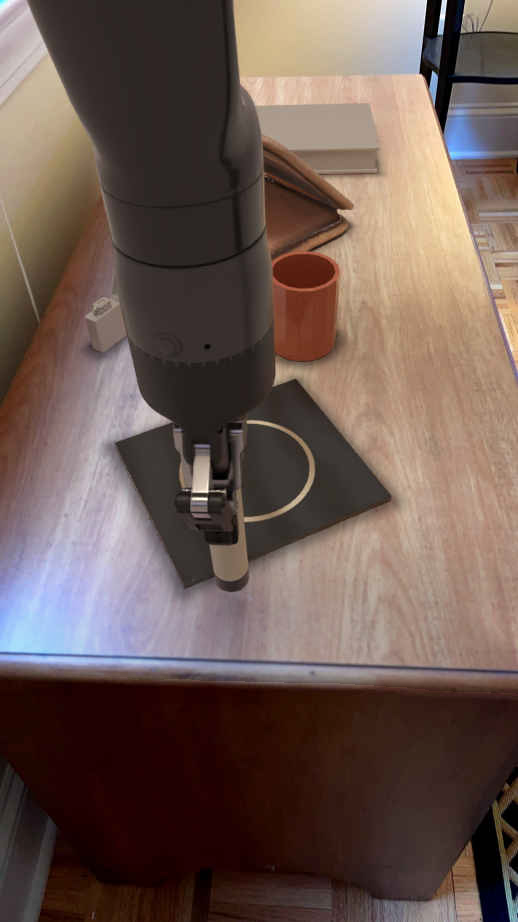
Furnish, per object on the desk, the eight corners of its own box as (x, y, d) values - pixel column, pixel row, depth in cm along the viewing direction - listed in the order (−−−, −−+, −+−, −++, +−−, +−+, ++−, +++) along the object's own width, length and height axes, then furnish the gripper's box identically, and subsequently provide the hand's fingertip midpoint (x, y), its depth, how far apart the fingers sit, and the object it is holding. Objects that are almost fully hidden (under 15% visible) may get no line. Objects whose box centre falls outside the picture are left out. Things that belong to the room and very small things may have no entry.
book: (379, 147, 101) (217, 151, 102) (377, 173, 104) (219, 176, 105) (368, 99, 114) (224, 103, 115) (366, 123, 117) (225, 127, 117)
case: (360, 228, 94) (371, 103, 82) (243, 289, 85) (236, 159, 73) (260, 178, 104) (257, 62, 92) (147, 228, 95) (127, 106, 83)
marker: (240, 558, 53) (229, 452, 45) (254, 584, 52) (246, 479, 43) (209, 571, 53) (192, 467, 44) (223, 597, 51) (208, 494, 42)
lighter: (103, 353, 77) (88, 292, 71) (92, 348, 78) (76, 287, 72) (144, 321, 81) (133, 260, 75) (133, 316, 82) (121, 256, 76)
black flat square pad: (296, 382, 73) (296, 377, 72) (391, 500, 62) (392, 495, 61) (115, 446, 67) (114, 441, 67) (184, 588, 56) (183, 583, 56)
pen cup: (314, 313, 81) (317, 244, 74) (347, 348, 76) (353, 278, 70) (258, 332, 79) (255, 262, 72) (288, 369, 74) (288, 298, 68)
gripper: (265, 407, 29) (274, 613, 42) (280, 237, 39) (284, 448, 52) (93, 404, 30) (153, 609, 43) (149, 237, 39) (185, 446, 52)
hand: (225, 520), depth 47 cm, fingers closed on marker, 2 cm apart
